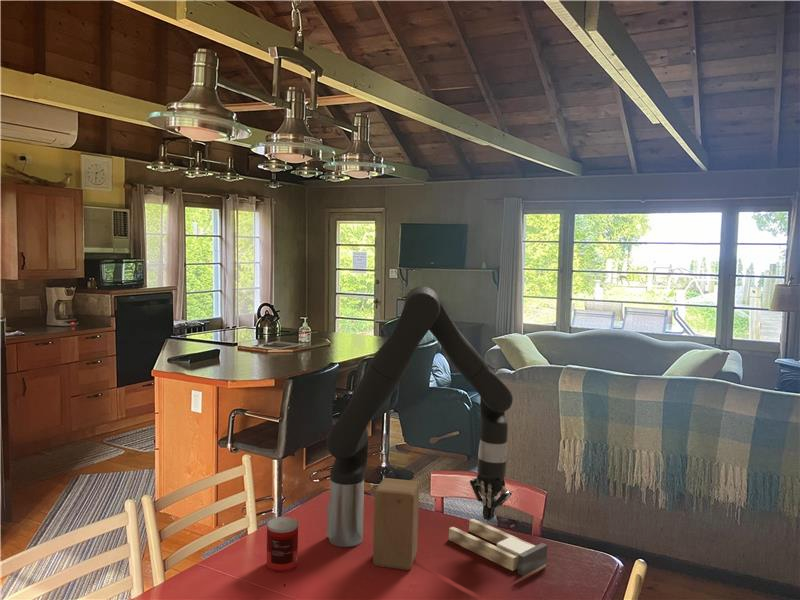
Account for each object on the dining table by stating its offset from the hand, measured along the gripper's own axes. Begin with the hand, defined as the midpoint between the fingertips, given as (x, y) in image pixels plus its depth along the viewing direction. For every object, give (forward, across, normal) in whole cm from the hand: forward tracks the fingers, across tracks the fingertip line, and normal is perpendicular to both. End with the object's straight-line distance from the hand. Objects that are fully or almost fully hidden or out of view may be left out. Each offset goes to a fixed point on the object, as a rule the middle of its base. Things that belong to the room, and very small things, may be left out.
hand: (488, 519), depth 171 cm
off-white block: (+7, +10, 0) cm, 12 cm away
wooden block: (+9, -12, -23) cm, 27 cm away
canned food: (+10, -28, -47) cm, 55 cm away
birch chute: (+8, +2, 0) cm, 9 cm away
